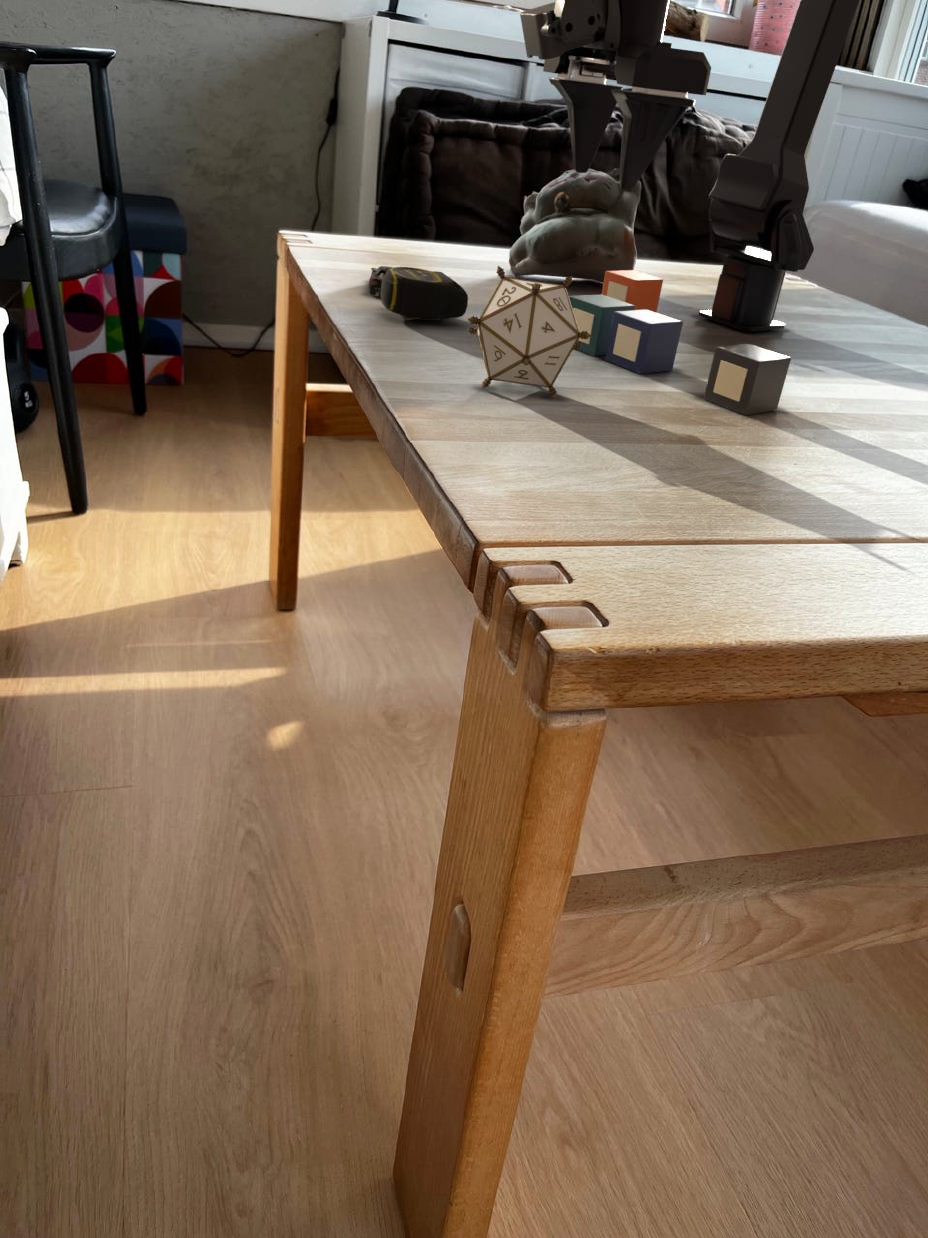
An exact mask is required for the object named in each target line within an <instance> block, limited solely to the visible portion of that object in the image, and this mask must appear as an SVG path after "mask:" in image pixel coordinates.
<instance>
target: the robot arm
mask: <svg viewBox="0 0 928 1238" xmlns="http://www.w3.org/2000/svg"><path fill="white" fill-rule="evenodd" d="M859 3H860V0H799V3H798V6H797V9H796V11H795V14H794V17H793V20H792V24H791V27H790V29H789V32H788V34H787V38H786V42H785V43H784V46H783V50H782V53H781V56H780V58H779V60H778V61H779V62H778V64H777V68H776V70H775V73H774V77H773V80H772V82H771V85H770V87H769V91H768V93H767V96H766V100H765V102H764V106H763V108H762V111H761V114H760V117H759V120H758V123H757V126H756V129H755V131H754V135H753V137H752V139H751V141H750V142H749V143H748V144H747V145H746V146H745V147H744V148H743V149H742V150H741V152H739V153H738V154H733V153H726V154H725V155H724V157H723V159H722V160H721V162H720V165H719V169H718V174H717V177H716V180H715V183H714V186H713V187H712V188H711V189H712V190H711V191H710V192H709V194H708V199H710V200H711V201H710V205H709V210H708V220H709V221H710V222H709V223H710V224H709V225H710V226H709V227H710V228H709V229H710V231H709V232H710V236H709V237H710V252H712V253H715V254H723V255H726V257H724V260H723V265H722V268H721V273H720V274H719V277H718V281H717V285H716V290H715V294H714V297H713V303H712V306H711V309H710V310H709V309H708V310H700V311H698V316H699V317H700V318H705V319H707V320H710V321H713V322H716V323H719V324H722V325H725V326H729V327H732V328H734V329H738V330H741V331H744V332H747V333H748V332H749V333H750V332H751V333H753V332H761V331H764V332H765V331H772V330H783V329H785V328H786V323H784V322H781V321H778V320H774V317H775V314H776V310H777V307H778V303H779V300H780V299H779V298H780V295H781V292H782V288H783V285H784V281H785V278H786V277H785V276H786V273H787V272H793V273H797V272H798V271H805V270H806V268H807V265H808V263H809V262H810V260H811V257H812V256H813V253H814V250H815V246H814V244H813V241H812V237H811V235H810V232H809V229H808V226H807V222H806V220H805V217H804V210H805V208H806V207H805V206H806V203H807V198H808V195H809V191H810V185H809V184H810V183H809V178H808V177H809V176H808V171H807V165H806V164H807V163H806V158H805V155H806V151H807V147H808V145H809V142H810V139H811V138H812V133H813V131H814V128H815V126H816V123H817V120H818V117H819V114H820V111H821V109H822V106H823V103H824V102H825V101H824V100H825V98H826V95H827V92H828V89H829V87H830V84H831V81H832V78H833V75H834V73H835V70H836V67H837V64H838V61H839V60H840V56H841V53H842V50H843V47H844V45H845V42H846V39H847V36H848V34H849V32H850V28H851V25H852V23H853V20H854V17H855V14H856V12H857V9H858V6H859ZM669 4H670V0H555V1H554V2H549V3H546V4H543V5H540V6H537V7H533V8H530V9H526V10H523V11H521V12H520V13H519V17H520V22H521V23H520V24H521V29H522V34H523V41H524V46H525V53H526V58H528V59H532V58H533V57H537V58H538V60H541V61H544V62H543V69H542V72H545V73H551V74H557V77H548V81H549V83H550V85H553V87H555V89H556V90H557V91H558V93H559V94H560V96H561V97H562V98H563V100H564V101H565V104H566V110H567V111H566V112H567V117H568V124H569V133H570V142H571V143H570V144H571V151H572V161H573V170H575V171H576V172H578V173H586V172H587V171H588V169H590V167H591V165H592V163H593V161H594V159H595V157H596V154H597V152H598V149H599V147H600V145H601V143H602V140H603V137H604V135H605V133H606V131H607V128H608V126H609V123H610V120H611V118H612V116H613V113H614V112H615V109H616V106H617V105H618V107H619V109H620V111H621V112H622V117H623V118H622V132H621V147H620V160H619V168H620V188H622V189H629V190H631V189H633V188H634V187H635V185H636V184H637V182H638V181H640V179H641V178H642V176H643V175H644V174H645V171H646V170H647V168H648V167H649V165H650V164H651V162H652V160H653V159H654V158H655V156H656V155H657V153H658V151H659V150H660V148H661V147H662V145H663V144H664V142H665V141H666V140H667V138H668V137H669V135H670V134H671V132H673V129H675V127H676V126H677V124H678V123H679V121H680V120H681V119H682V117H683V116H684V114H685V113H686V112H687V110H688V109H689V108H693V107H694V106H695V104H696V99H693V98H688V94H689V95H697V96H698V95H700V96H707V92H708V86H709V81H710V77H711V72H712V66H711V64H710V62H709V60H708V58H707V56H706V54H705V52H703V51H697V50H696V51H695V50H687V49H681V48H675V47H673V48H672V45H673V43H672V42H665V41H663V36H664V31H665V26H666V19H667V16H668V9H669ZM607 80H608V81H609V80H610V81H615V82H616V85H614V84H608V83H606V81H607ZM621 85H622V86H621ZM623 86H628V87H631V90H624V87H623Z"/></svg>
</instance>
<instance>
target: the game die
mask: <svg viewBox="0 0 928 1238" xmlns="http://www.w3.org/2000/svg"><path fill="white" fill-rule="evenodd" d="M504 270H505V269H504V268H502V267H501V266H499V265H497V270H496V274H497V277H499V279H500V280H499V282H498V283H497V286H496V287H495V289H494V291H493V292H492V294H491V296H490V298H489V300H488V301H487V303H486V305H485V306H484V309H483V311H482V312H481V314H480V316H479V317H478V316H475V315H472V316H471V317H469V318H467V321H469V323H470V325H475V326H469V327H468V328H467V329H466V331H467V332H468V333H469V334H470V335H472V334H473V335H475V334H476V336H477V340H478V343H479V347H480V350H481V355H482V358H483V362H484V366H485V369H486V373H487V378H484V380H483V381H482V387H481V390H483V389H486V388H489V386H490V385H491V382H492V381H496V382H503V383H504V382H505V383H511V384H517V385H518V384H519V385H526V386H535V387H540V388H547V389H548V391H547V392H548V393H549V396H551V397H552V398H553V399H556V398H557V393H558V391H557V390H556V388H555V387H554V384H555V382H556V381H557V378H558V377H559V375H560V373H561V371H562V370H563V368H564V366H565V364H566V363H567V361H568V359H569V357H570V355H572V352H573V351H574V349H575V347H576V349H575V350H577V348H578V347H580V346H582V345H581V343H580V342H579V341H578V340H579V338H582V339H588V338H589V337H590V336H591V335H590V334H589V333H588V332H587V331H586V332H584V331H583V332H581V333H580V331H579V328H578V325H577V322H576V318H575V315H574V312H573V309H572V306H571V303H570V300H569V296H570V295H569V294H568V290H567V288H568V287H570V286H571V284H573V281H572V280H573V278H572V276H570V277H568V278H567V277H565V280H563V283H562V284H560V283H553V282H546V281H539V280H533V279H532V280H530V279H523V278H518V277H516V278H515V277H509V276H506V275H505V273H506V272H505V271H504Z"/></svg>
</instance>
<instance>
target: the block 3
mask: <svg viewBox="0 0 928 1238" xmlns="http://www.w3.org/2000/svg"><path fill="white" fill-rule="evenodd" d="M791 360H792V357H791V356H787V355H785V354H781V353H778V352H775V351H772V350H769V349H767V348H763V347H760V346H758V345H754V344H752V343H739V344H729V345H719V346H716V347H715V349H714V353H713V358H712V361H711V365H710V369H709V374H708V378H707V382H706V385H705V391H704V395H703V400H704V401H708V402H710V403H713V404H715V405H718V406H721V407H723V408H725V409H728V410H731V411H732V412H735V413H738V414H741V415H744V416H748V415H749V416H750V415H755V414H760V413H766V412H772V411H777V410H778V408H779V404H780V399H781V396H782V394H783V393H782V392H783V389H784V385H785V381H786V379H787V375H788V372H789V368H790V364H791Z"/></svg>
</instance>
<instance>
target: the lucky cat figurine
mask: <svg viewBox="0 0 928 1238" xmlns="http://www.w3.org/2000/svg"><path fill="white" fill-rule="evenodd" d="M641 190H642V182H641V181H640V180H639V181H638V182H637V184H636V185H635V187H634V188H633V189H631V190H629V189H622V188H620V167H618V168H614V169H610V170H607V171H606V172H603V171H599V170H595V169H592V168H589V169H588V171H587V172H586V173H578V172H576V171H575V170H574V169H571V170H566V171H564V172H563V173H562V174H561V175H560V176H559V177H557V178H555V179H553V180H552V181H550V182H549V183H547V184H546V185H545V186H543V187H542V188H541V190H540V191H539V192H537V191H534V190H533V191H532V193H531V194H530V195H528V196H527V195H524V197H523V199H524V200H523V211H524V215H523V216H522V218H521V220H520V222H521V223H520V226H519V230H520V231H519V232H520V234H521V236H520V237H519V238H518V239H517V240H516V241H515V242H514V243H513V244H512V246H511V247H510V249H509V251H508V252H509V253H508V256H509V257H508V258H509V259H508V264H509V267H510V272H511V274H512V275H513V276H514V278H519V277H522V276H543V277H545V276H547V277H556V278H566V277H567V278H568V277H570V276H572V279H579V280H589V281H590V280H592V281H595V282H598V283H601V284H603V283H604V278H605V272H606V271H620V270H635V267H636V262H637V258H638V252H637V251H638V250H637V248H636V238H635V234H634V231H635V230H634V225H635V220H636V214H637V209H638V205H639V204H640V201H641Z"/></svg>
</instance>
